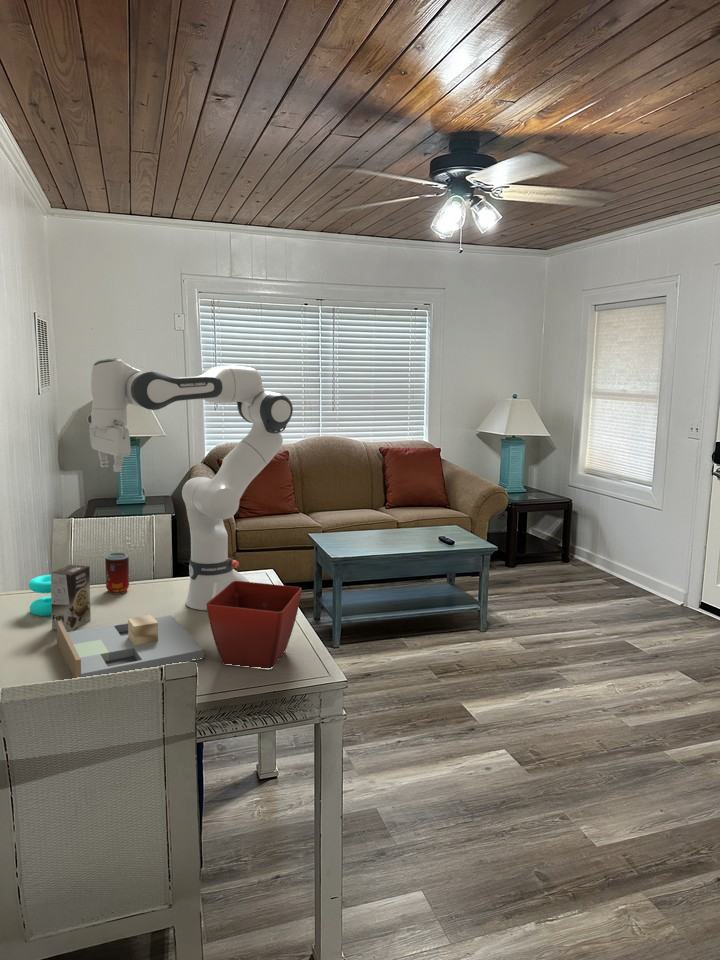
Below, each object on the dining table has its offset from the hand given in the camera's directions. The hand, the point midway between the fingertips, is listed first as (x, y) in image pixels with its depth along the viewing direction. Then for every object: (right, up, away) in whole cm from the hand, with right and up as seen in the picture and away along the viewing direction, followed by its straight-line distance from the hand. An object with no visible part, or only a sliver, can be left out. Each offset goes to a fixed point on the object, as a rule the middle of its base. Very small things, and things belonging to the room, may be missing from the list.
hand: (111, 469), depth 182 cm
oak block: (+12, -44, -11) cm, 47 cm away
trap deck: (+9, -47, -12) cm, 49 cm away
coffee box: (-12, -44, +4) cm, 46 cm away
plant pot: (+42, -49, -13) cm, 65 cm away
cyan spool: (-23, -42, +13) cm, 50 cm away
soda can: (-10, -39, +32) cm, 52 cm away
